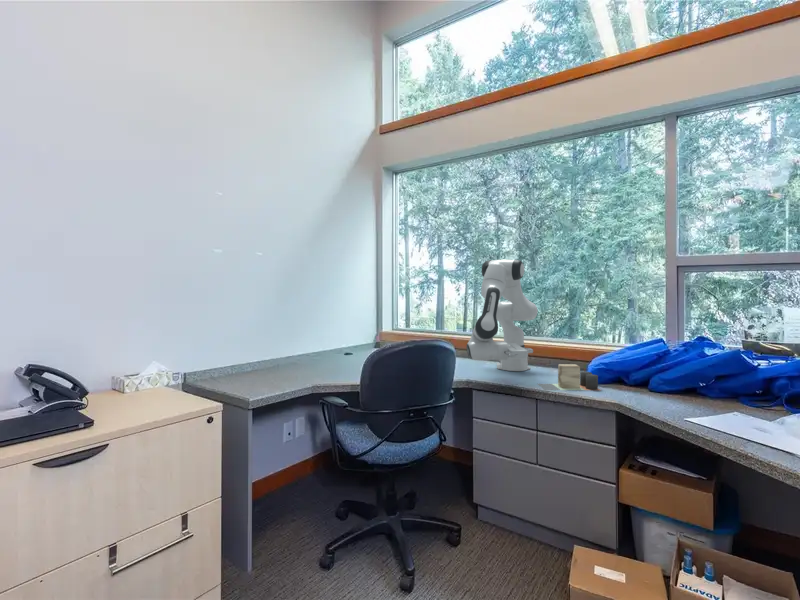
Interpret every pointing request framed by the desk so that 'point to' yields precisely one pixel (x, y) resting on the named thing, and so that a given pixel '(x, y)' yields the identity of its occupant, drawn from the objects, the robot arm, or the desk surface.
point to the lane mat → (556, 387)
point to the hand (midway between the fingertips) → (532, 350)
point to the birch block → (568, 376)
